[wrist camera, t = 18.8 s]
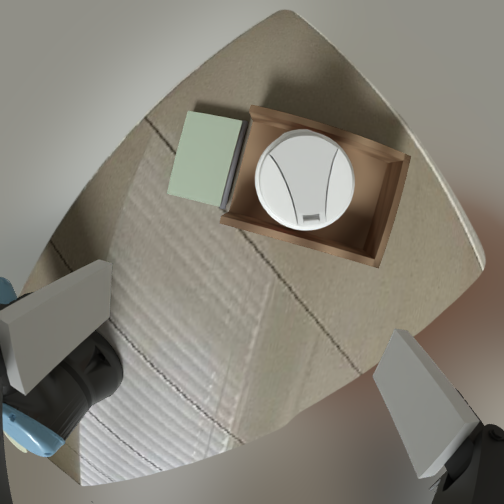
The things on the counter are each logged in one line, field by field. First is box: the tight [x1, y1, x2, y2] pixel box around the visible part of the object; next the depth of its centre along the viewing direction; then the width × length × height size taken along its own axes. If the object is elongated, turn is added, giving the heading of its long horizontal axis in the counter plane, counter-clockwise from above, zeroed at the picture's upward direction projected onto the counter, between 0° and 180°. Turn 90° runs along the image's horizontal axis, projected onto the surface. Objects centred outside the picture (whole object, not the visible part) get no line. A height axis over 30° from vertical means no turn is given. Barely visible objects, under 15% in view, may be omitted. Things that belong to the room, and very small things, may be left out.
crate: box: [220, 105, 411, 268], centre depth 32 cm, size 18×13×6 cm
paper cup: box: [255, 129, 355, 230], centre depth 27 cm, size 8×8×14 cm
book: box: [167, 111, 248, 209], centre depth 34 cm, size 2×11×8 cm
